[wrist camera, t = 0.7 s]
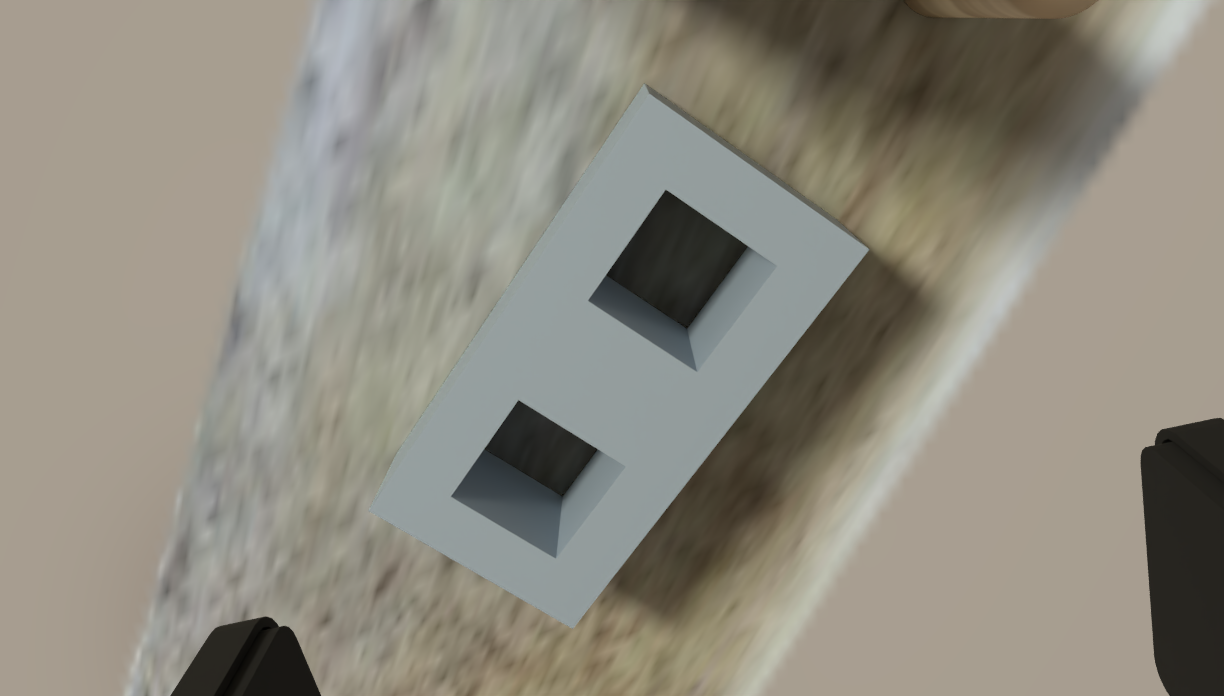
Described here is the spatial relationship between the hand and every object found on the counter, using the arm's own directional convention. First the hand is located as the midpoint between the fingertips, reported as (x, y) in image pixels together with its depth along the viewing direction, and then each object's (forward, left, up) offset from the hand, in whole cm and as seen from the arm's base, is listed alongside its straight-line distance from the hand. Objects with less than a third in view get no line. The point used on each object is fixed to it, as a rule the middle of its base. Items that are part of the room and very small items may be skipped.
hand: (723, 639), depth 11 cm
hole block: (+6, +2, -28) cm, 29 cm away
